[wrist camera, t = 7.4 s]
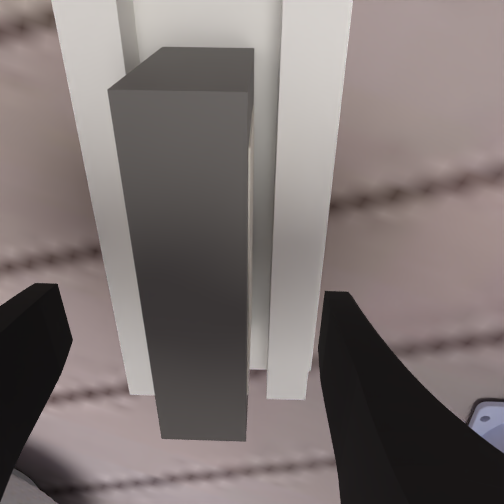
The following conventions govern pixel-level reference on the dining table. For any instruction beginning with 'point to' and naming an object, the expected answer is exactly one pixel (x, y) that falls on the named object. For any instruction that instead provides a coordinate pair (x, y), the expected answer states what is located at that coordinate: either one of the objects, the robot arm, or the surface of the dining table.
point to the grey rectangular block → (192, 229)
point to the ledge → (265, 154)
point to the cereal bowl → (23, 491)
